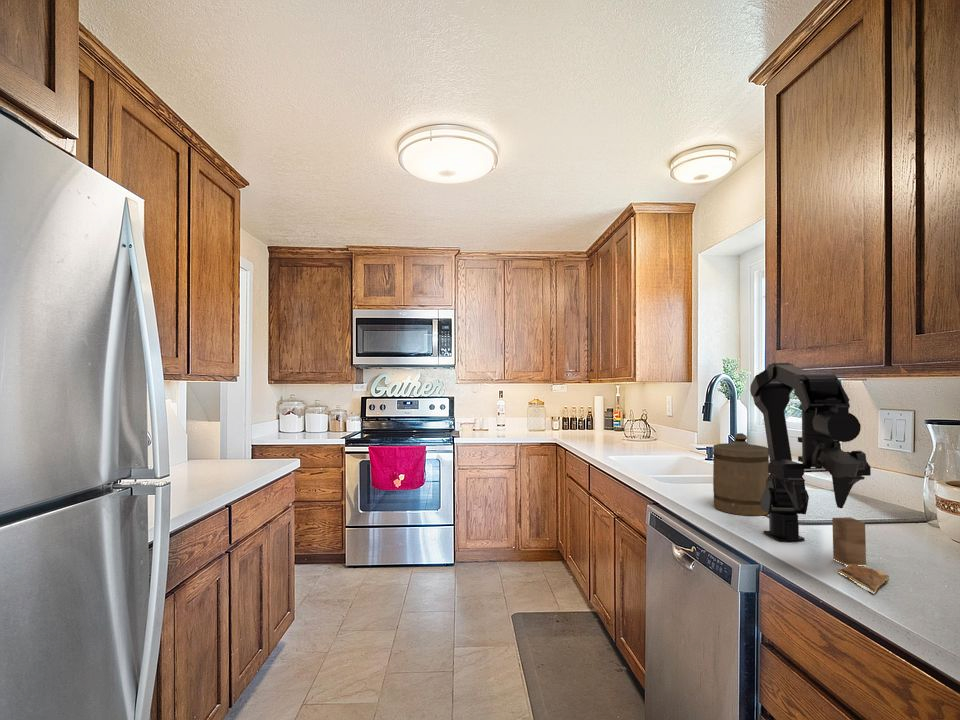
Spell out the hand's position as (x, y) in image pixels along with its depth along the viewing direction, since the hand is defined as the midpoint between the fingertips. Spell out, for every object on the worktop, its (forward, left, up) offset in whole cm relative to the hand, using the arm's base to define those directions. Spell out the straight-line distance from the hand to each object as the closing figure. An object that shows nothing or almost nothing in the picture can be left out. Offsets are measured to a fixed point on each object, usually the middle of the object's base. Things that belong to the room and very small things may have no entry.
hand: (819, 508), depth 108 cm
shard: (+9, +4, -13) cm, 16 cm away
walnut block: (-1, +7, -12) cm, 14 cm away
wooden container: (-43, +8, -12) cm, 45 cm away
